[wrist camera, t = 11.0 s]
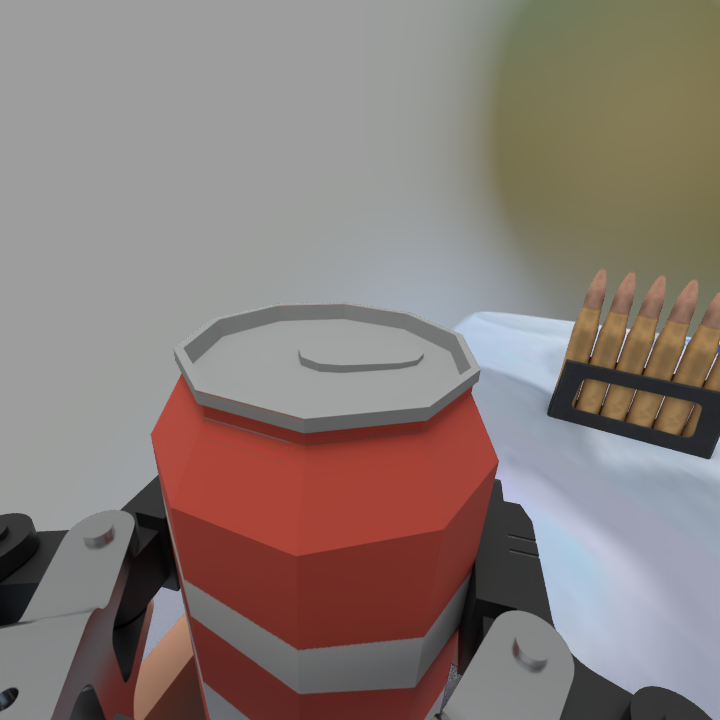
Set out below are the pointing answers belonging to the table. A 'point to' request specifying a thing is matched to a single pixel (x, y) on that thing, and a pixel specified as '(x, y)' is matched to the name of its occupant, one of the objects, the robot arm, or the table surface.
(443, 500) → the beverage can
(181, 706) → the terracotta collar
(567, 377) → the ammunition clip
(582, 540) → the table surface
